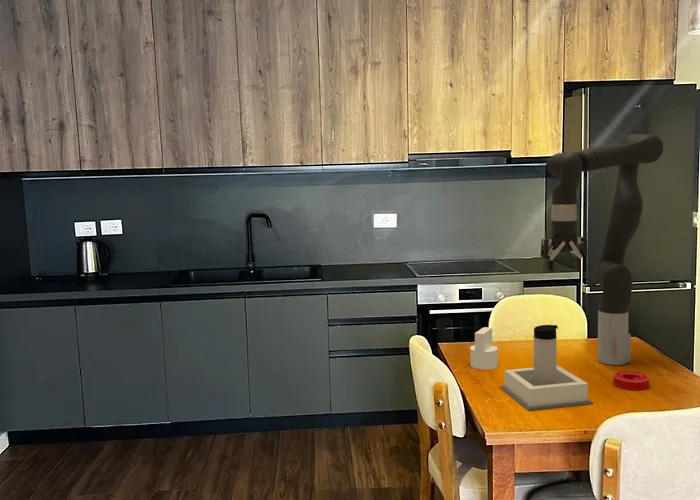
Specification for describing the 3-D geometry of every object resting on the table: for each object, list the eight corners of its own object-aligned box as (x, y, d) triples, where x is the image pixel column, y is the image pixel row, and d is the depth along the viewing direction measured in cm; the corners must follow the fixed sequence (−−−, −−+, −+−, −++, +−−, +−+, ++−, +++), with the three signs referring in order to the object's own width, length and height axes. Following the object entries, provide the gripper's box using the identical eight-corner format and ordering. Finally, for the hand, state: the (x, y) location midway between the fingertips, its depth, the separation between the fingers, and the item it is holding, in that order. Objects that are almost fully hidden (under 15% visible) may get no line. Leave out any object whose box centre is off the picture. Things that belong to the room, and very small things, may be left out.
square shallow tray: (558, 381, 191) (558, 363, 191) (592, 403, 173) (593, 384, 172) (500, 387, 188) (499, 369, 187) (528, 410, 170) (528, 390, 169)
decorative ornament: (619, 378, 193) (619, 368, 193) (652, 384, 187) (653, 374, 186) (608, 387, 186) (608, 377, 185) (643, 393, 179) (643, 383, 179)
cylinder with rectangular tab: (492, 371, 204) (492, 335, 202) (466, 367, 208) (465, 332, 207) (501, 363, 211) (501, 328, 210) (476, 360, 216) (475, 326, 214)
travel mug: (558, 397, 177) (559, 328, 174) (534, 396, 178) (534, 328, 176) (556, 389, 183) (556, 323, 180) (532, 389, 184) (532, 322, 182)
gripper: (548, 221, 186) (548, 274, 188) (592, 218, 189) (591, 271, 191) (536, 219, 194) (536, 271, 196) (579, 217, 196) (578, 268, 198)
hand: (563, 271), depth 193 cm, fingers open, 8 cm apart
